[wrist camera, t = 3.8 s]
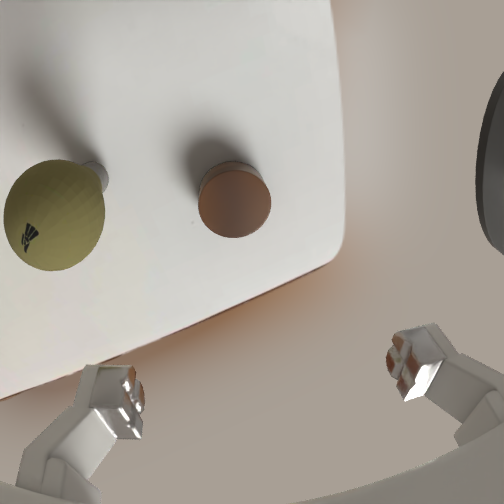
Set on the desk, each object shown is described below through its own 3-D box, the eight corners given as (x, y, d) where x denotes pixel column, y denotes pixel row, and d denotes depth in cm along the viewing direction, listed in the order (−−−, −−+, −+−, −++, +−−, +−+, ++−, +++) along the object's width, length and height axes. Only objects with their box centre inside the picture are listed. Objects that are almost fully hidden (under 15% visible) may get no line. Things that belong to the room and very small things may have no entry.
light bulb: (66, 130, 18) (-19, 171, 9) (140, 144, 19) (89, 193, 11) (58, 203, 20) (-11, 278, 12) (125, 219, 22) (82, 306, 13)
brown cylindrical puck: (264, 158, 21) (270, 167, 19) (265, 220, 23) (271, 235, 21) (196, 164, 21) (194, 173, 19) (202, 226, 23) (202, 241, 21)
